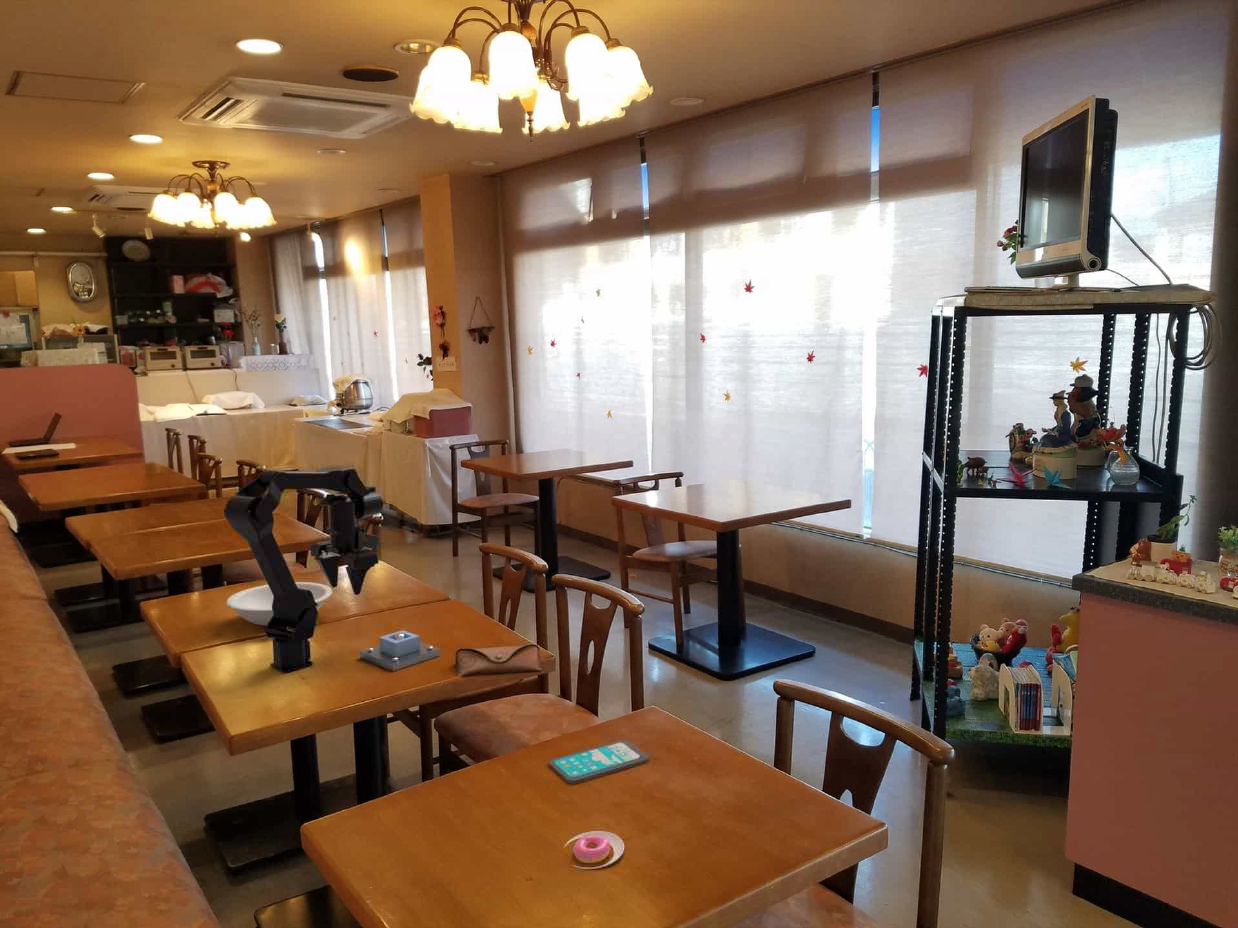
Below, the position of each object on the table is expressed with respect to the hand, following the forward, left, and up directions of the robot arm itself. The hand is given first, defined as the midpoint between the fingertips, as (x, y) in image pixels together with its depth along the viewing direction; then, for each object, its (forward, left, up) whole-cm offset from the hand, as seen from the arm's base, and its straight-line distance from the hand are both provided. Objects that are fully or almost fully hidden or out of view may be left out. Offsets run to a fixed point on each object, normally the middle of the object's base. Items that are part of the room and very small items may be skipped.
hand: (345, 590), depth 197 cm
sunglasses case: (+12, -38, -13) cm, 42 cm away
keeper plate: (+2, -17, -12) cm, 21 cm away
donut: (-24, -98, -13) cm, 102 cm away
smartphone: (-6, -82, -13) cm, 83 cm away
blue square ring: (+2, -17, -10) cm, 20 cm away
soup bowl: (-2, +26, -12) cm, 29 cm away
